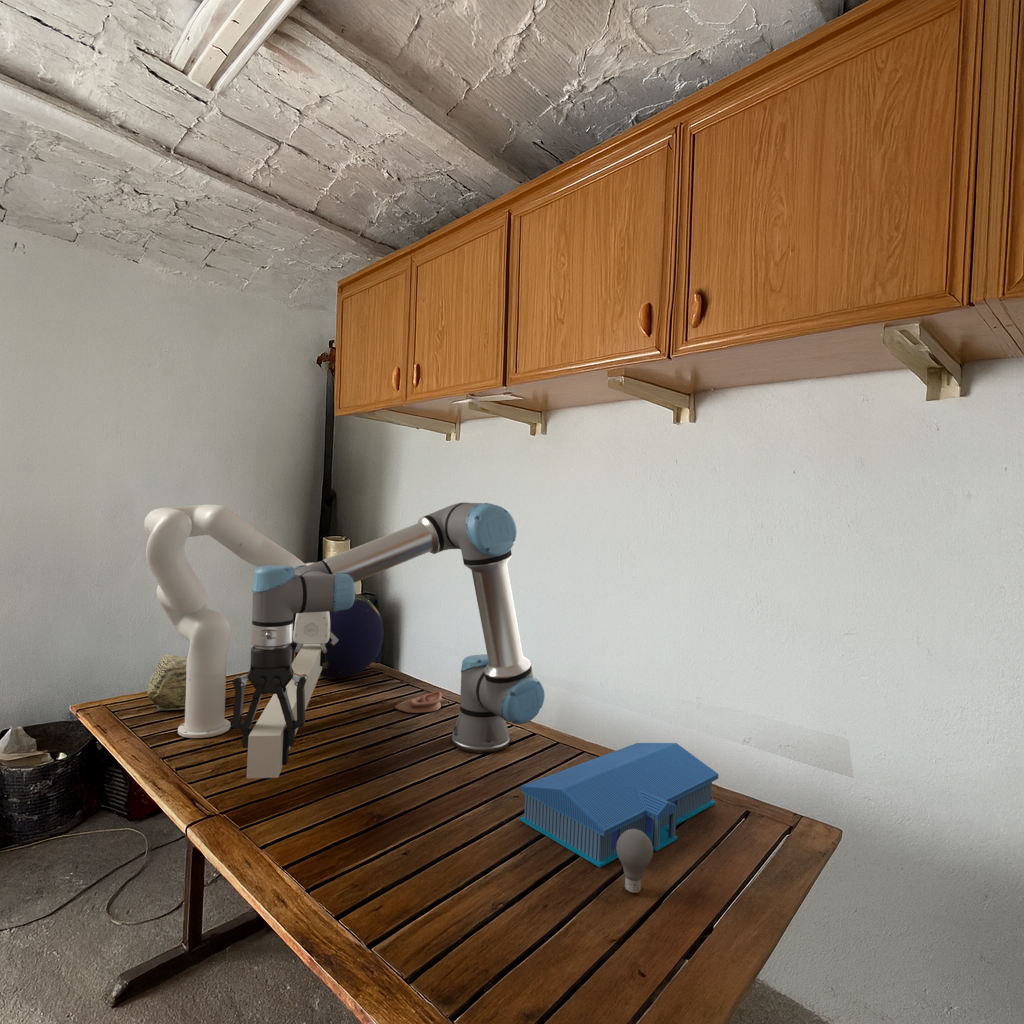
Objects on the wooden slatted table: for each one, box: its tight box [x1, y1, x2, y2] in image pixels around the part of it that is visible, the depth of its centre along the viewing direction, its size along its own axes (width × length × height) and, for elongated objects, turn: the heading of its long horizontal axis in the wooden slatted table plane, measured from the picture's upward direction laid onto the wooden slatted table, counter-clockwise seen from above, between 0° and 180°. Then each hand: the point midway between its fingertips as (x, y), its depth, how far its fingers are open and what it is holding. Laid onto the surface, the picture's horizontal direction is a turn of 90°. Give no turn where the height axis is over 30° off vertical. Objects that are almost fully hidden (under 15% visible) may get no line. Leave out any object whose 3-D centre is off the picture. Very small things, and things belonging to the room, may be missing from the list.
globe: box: [296, 592, 385, 680], centre depth 220 cm, size 30×30×30 cm
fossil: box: [147, 654, 188, 712], centre depth 185 cm, size 9×18×15 cm, turn 132°
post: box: [246, 644, 322, 779], centre depth 156 cm, size 76×6×8 cm, turn 11°
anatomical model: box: [394, 691, 443, 714], centre depth 193 cm, size 13×4×12 cm
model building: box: [519, 742, 719, 868], centre depth 132 cm, size 39×24×10 cm, turn 132°
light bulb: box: [616, 829, 654, 894], centre depth 106 cm, size 6×6×10 cm
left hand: (310, 664), depth 188 cm, fingers closed on post, 5 cm apart
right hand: (268, 762), depth 124 cm, fingers closed on post, 6 cm apart
